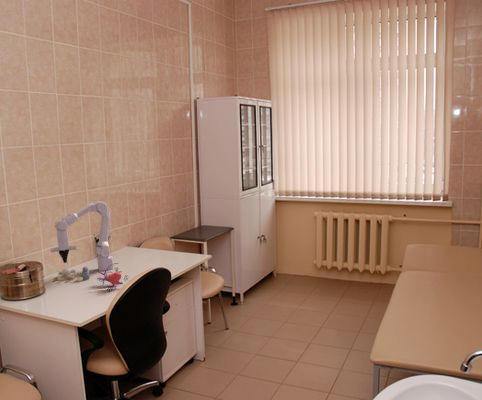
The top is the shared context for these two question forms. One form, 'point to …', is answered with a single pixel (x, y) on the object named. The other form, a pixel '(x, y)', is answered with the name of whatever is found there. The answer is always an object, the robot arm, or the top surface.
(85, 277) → the pawn
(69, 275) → the beige irregular flat piece
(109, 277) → the heart model
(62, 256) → the robot arm
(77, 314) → the top surface
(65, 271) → the dome
